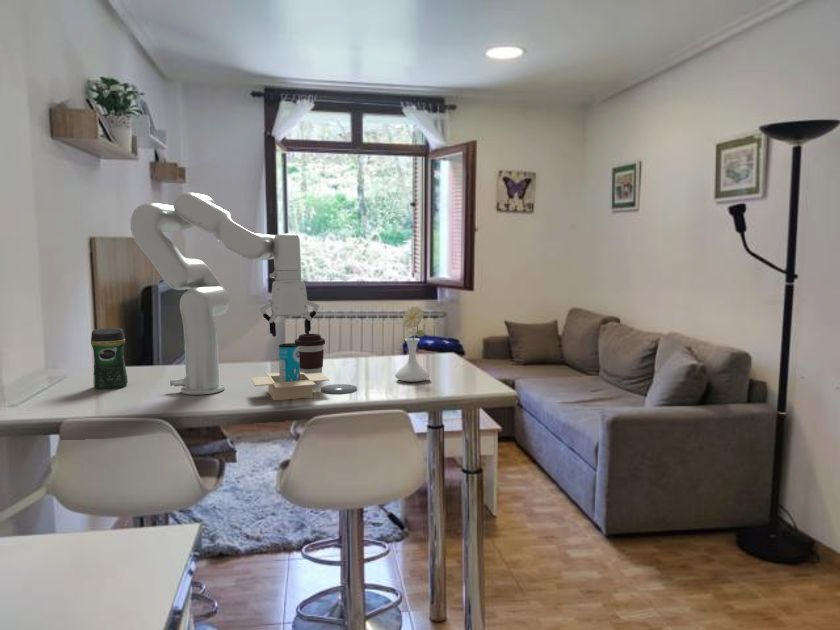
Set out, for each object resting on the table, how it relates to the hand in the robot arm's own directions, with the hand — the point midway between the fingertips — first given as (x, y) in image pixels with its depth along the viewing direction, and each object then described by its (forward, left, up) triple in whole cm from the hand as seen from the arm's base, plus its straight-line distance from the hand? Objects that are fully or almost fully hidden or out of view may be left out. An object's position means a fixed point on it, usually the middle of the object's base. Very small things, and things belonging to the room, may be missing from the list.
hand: (290, 334), depth 180 cm
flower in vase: (+41, +5, -18) cm, 45 cm away
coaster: (+15, +1, -18) cm, 23 cm away
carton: (0, 0, -18) cm, 18 cm away
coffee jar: (-51, +32, -18) cm, 63 cm away
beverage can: (0, 0, -18) cm, 18 cm away
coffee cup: (+10, +20, -18) cm, 29 cm away
